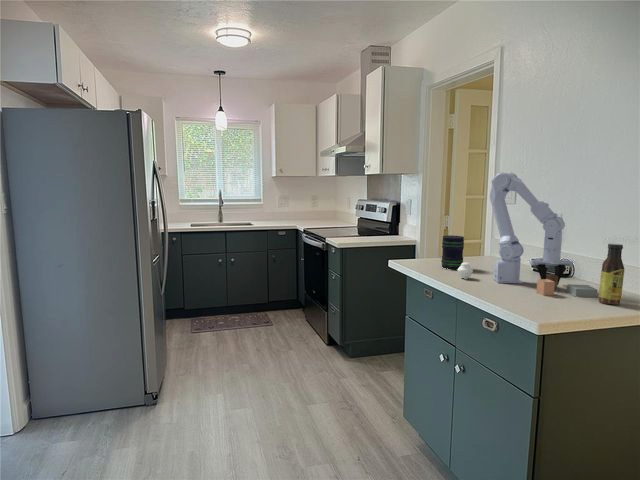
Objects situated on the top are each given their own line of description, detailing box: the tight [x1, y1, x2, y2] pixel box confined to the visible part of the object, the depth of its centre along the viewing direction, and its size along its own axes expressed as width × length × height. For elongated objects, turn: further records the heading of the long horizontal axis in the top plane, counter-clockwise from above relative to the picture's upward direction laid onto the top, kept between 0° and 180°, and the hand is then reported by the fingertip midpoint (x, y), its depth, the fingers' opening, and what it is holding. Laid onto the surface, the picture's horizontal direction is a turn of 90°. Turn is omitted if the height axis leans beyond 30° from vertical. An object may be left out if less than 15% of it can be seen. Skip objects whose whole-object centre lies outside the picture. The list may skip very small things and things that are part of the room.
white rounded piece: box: [457, 261, 474, 280], centre depth 177 cm, size 6×6×7 cm
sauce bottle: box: [598, 243, 625, 306], centre depth 139 cm, size 6×6×20 cm
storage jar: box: [440, 235, 465, 269], centre depth 198 cm, size 10×10×15 cm
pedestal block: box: [566, 283, 599, 298], centre depth 152 cm, size 7×7×3 cm
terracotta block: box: [536, 278, 555, 297], centre depth 151 cm, size 4×4×5 cm
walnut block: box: [546, 273, 559, 290], centre depth 161 cm, size 4×4×5 cm
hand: (549, 284), depth 161 cm, fingers closed on walnut block, 4 cm apart
